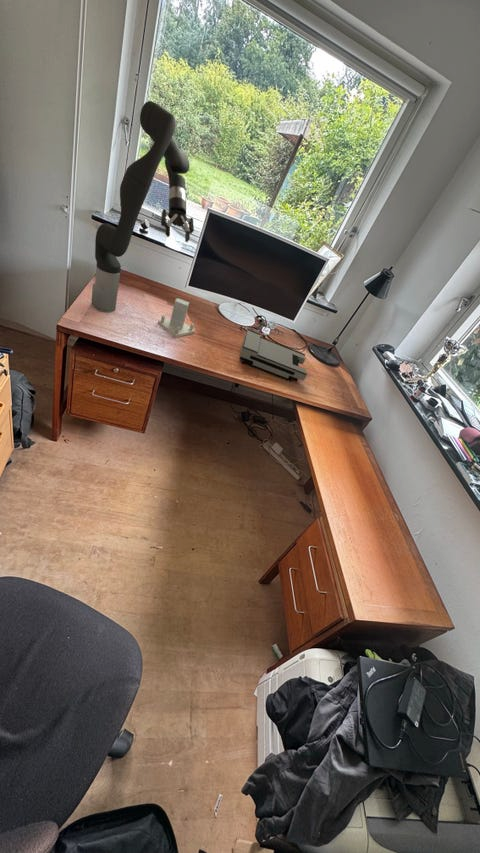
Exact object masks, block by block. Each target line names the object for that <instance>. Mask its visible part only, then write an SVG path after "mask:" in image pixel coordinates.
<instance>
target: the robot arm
mask: <svg viewBox="0 0 480 853" xmlns="http://www.w3.org/2000/svg"><path fill="white" fill-rule="evenodd" d="M139 123H140V128H141V129H142V131H144V133H146V134H147V135H148V136H149V138H150V139H151V140H152V141H153V143H152V145H151V147H150V149H149V150H148V151H147V152H146V153H145V154H144V155H143V156H142V157H139V158H138V159H136V160H135V161H133V162H132V163H131V164H130V165H129V166H128V167H127V168H126V170H125V172H124V175H123V177H122V180H121V183H120V186H119V200H120V216H119V220H118V223H117V225H116V227H115V226H113V225H112V224H110V223H106V222H104V223H102V224H100V225H99V226H98V228H97V229H96V233H95V239H94V241H95V242H94V243H95V244H94V245H95V246H94V257H95V261H96V262H95V263H96V267H95V278H94V279H95V280H94V283H92V289H91V301H90V302H91V303H90V304H91V306H93V307H94V308H95V309H96V310H97V311H99V312H105V313H112V312H115V311H116V308H117V300H118V293H119V285H120V284H119V283H120V278H121V270H122V269H121V267H122V266H121V263H120V261H119V260H118V258H119V257H122V256H123V255H125V253H126V251H127V250H128V249H129V248H128V247H129V245H130V242H131V239H132V236H133V233H134V229H135V226H136V222H137V221H138V217H139V215H140V212H141V210H142V206H143V205H144V202H145V200H146V198H147V196H148V194H149V191H150V188H151V185H152V183H153V180H154V177H155V174H156V173H157V170H158V168H159V165H160V163H161V161H162V159H163V157H164V166H165V169H166V172H167V176H168V183H169V184H168V186H169V188H168V189H169V191H168V211H167V209H165V208H164V209H163V210H162V212H161V216H160V217H161V220H160V225H161V226H162V227H164V228H165V236H166V238H169V237H170V236H171V227H170V226H171V225H172V224H173V226H176V227H179V228H181V229H182V230H183V231H184V236H185V237H184V239H185V240H184V241H185V242H186V243H188V242H189V241H190V238H191V237H190V235H192V234H193V232H194V229H195V228H194V218H193V217H190V218H189V217H187V194H186V179H185V177H184V176H183V175H184V174H188V172H189V170H190V166H191V165H190V160H189V157H188V155H187V154H186V152H184V151H183V150H182V149H180V148H179V145H178V143H177V141H176V140H175V138H174V137H173V136H174V133H175V130H176V125H177V120H176V117H175V115H174V114H173V113H171V112H170V111H168V110H167V109H166V108H164V107H162V106H161V105H159V104H158V103H157V102H154V101H151V100H149V101H146V102H144V103H143V105H142V108H141V110H140V114H139ZM166 217H168V219H169V220H168V222H167V221H166V219H167V218H166Z"/></svg>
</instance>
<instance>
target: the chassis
mask: <svg viewBox="0 0 480 853" xmlns="http://www.w3.org/2000/svg"><path fill="white" fill-rule="evenodd" d="M170 320H171V317H170V318H166V315H165V314H162V315H161V317H160V320H158V321H157V324H158V325H160V327H162V328H163V329H164V330H166V331H167V332H168V333H170V334H171V335H172V336H173V337H175V338H179V337H182V336H188V335H193V334H195V331H196V330H195V329H194V325H195V324H194V322H193V323H190V325H188V324H187V323H186V322H184V325H183V328H182V329H180V327H178V326H177V327H174V326H171V325H170Z"/></svg>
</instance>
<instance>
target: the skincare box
mask: <svg viewBox="0 0 480 853" xmlns="http://www.w3.org/2000/svg"><path fill="white" fill-rule="evenodd" d="M173 303H174V304H173V308H172V313H171V317H170V318H171V320H170V325H171V326H174V327H177V326H178V327H180V329H182V328H183V325H184V323H186V322H185V321H186V317H187V313H188V309H189V305H190V301H186V300H184V299H181V298H179V297H177V298H175V300H174V302H173Z"/></svg>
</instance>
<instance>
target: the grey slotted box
mask: <svg viewBox="0 0 480 853" xmlns="http://www.w3.org/2000/svg"><path fill="white" fill-rule="evenodd" d="M239 355H240V356H239V360H241V361H242V364H243V365H245V366H248V367H251V368H254V369H256V370H259V371H261V372H263V373H266V374H269V375H272V376H274V377H277V378H279V379H282V380H285V381H287V382H292V381H295V382H298V380H300V381H303V382H304V381H305V379H306V377H307V376H308V373H307V369H306V368H303V367H300V366H299V364H300V365H304V363H305V361H306V354H305V353H303V352H301V351H298V350H296V349H293V348H291V347H288V346H286V345H283V344H280V343H277V342H276V341H273V340H271V339H268V338H265V337H263V336H261V333H259V332H257V331H254V330H253V329H249V328H248V329H247V330H246V333H245V334H244V338H243V341H242V345H241V349H240V353H239Z"/></svg>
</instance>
